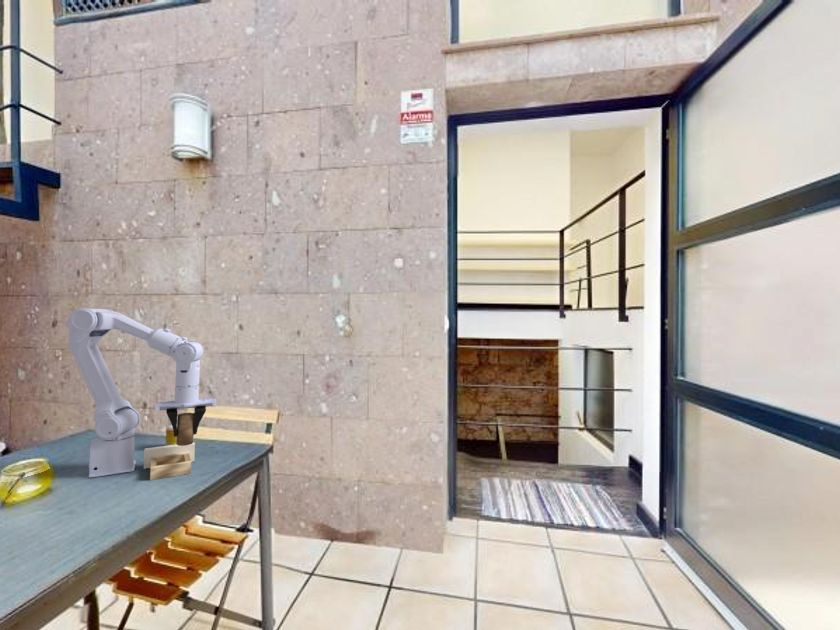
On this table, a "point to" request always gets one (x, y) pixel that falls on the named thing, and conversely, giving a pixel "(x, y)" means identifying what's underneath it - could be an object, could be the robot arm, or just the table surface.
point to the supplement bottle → (170, 435)
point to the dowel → (185, 429)
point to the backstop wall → (167, 452)
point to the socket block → (170, 465)
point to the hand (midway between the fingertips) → (185, 434)
